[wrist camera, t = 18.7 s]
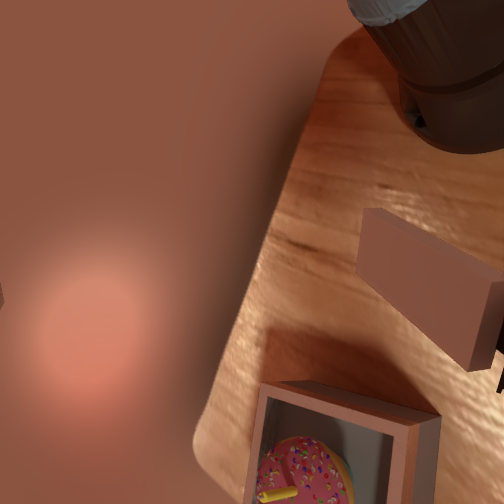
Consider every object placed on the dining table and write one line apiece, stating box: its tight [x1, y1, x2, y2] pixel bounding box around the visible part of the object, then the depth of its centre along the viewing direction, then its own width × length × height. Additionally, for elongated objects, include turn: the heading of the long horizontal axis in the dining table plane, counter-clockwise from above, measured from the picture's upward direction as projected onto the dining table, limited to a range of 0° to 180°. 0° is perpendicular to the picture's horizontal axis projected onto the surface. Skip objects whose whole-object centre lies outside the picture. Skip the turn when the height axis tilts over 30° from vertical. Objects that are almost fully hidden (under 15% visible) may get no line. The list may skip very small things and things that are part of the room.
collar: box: [243, 382, 420, 504], centre depth 36 cm, size 14×14×2 cm
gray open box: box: [276, 380, 442, 504], centre depth 39 cm, size 14×14×6 cm
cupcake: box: [255, 436, 355, 504], centre depth 32 cm, size 9×8×12 cm
